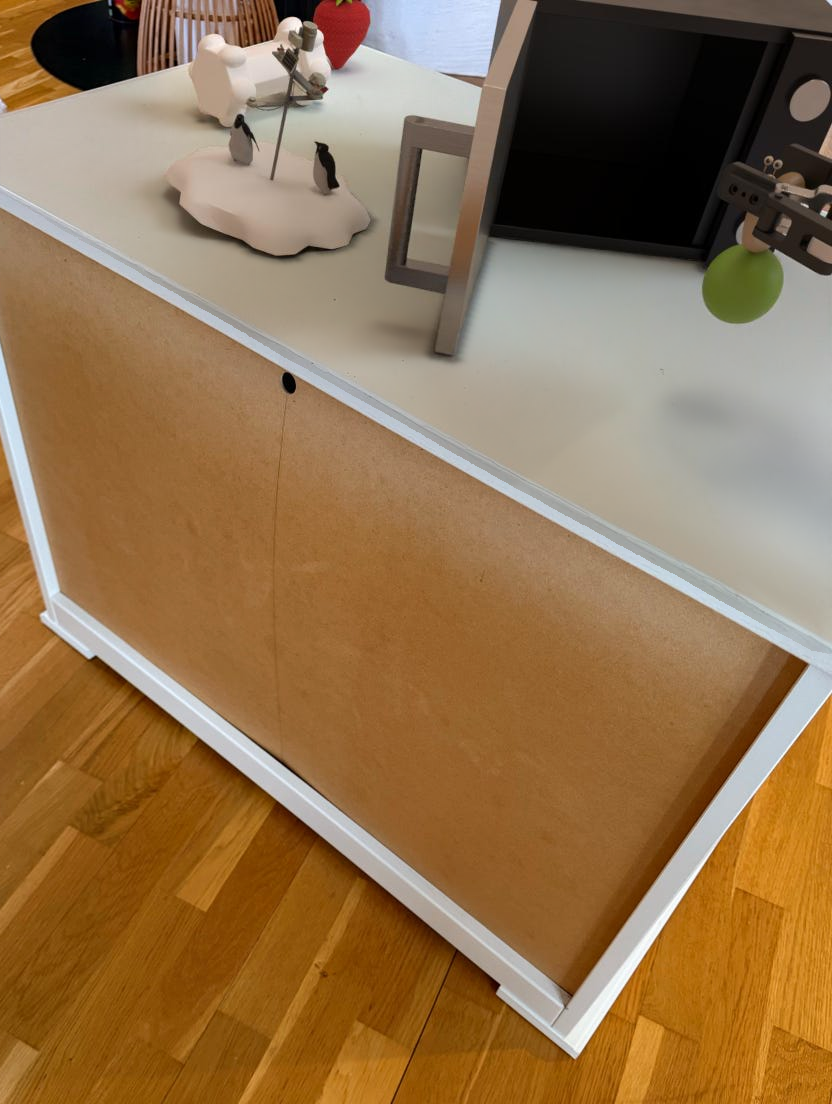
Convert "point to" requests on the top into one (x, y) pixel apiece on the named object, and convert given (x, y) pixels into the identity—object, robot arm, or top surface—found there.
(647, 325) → the top surface
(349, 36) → the strawberry
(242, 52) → the bone shaped toy
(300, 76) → the figurine
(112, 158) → the top surface
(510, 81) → the microwave door
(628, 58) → the microwave
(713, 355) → the top surface
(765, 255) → the snail figurine
